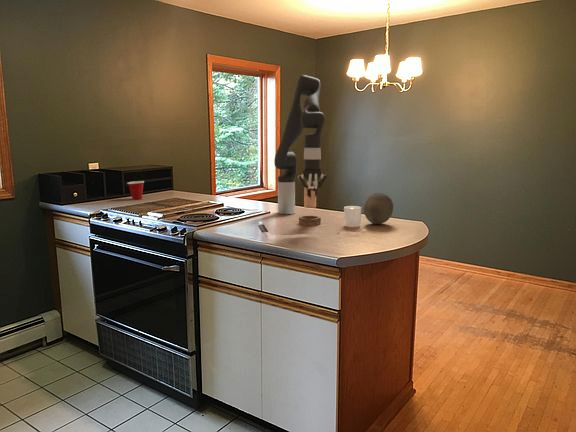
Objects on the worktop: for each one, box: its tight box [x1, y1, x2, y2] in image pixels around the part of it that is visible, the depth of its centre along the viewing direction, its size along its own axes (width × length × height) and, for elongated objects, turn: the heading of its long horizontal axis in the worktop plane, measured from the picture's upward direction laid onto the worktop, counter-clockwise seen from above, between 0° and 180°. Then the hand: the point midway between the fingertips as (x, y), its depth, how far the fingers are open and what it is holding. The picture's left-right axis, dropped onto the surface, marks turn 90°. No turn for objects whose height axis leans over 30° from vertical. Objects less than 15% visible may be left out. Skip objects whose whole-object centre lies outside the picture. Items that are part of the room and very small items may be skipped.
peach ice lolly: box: [303, 186, 317, 209], centre depth 208 cm, size 9×6×9 cm, turn 10°
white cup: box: [343, 205, 362, 228], centre depth 208 cm, size 8×8×10 cm
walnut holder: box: [292, 215, 329, 228], centre depth 213 cm, size 14×14×4 cm
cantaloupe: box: [363, 192, 394, 226], centre depth 217 cm, size 14×14×15 cm
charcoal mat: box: [258, 224, 269, 233], centre depth 211 cm, size 14×12×1 cm
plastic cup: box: [127, 180, 145, 201], centre depth 307 cm, size 11×11×12 cm
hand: (311, 196), depth 206 cm, fingers closed on peach ice lolly, 1 cm apart
